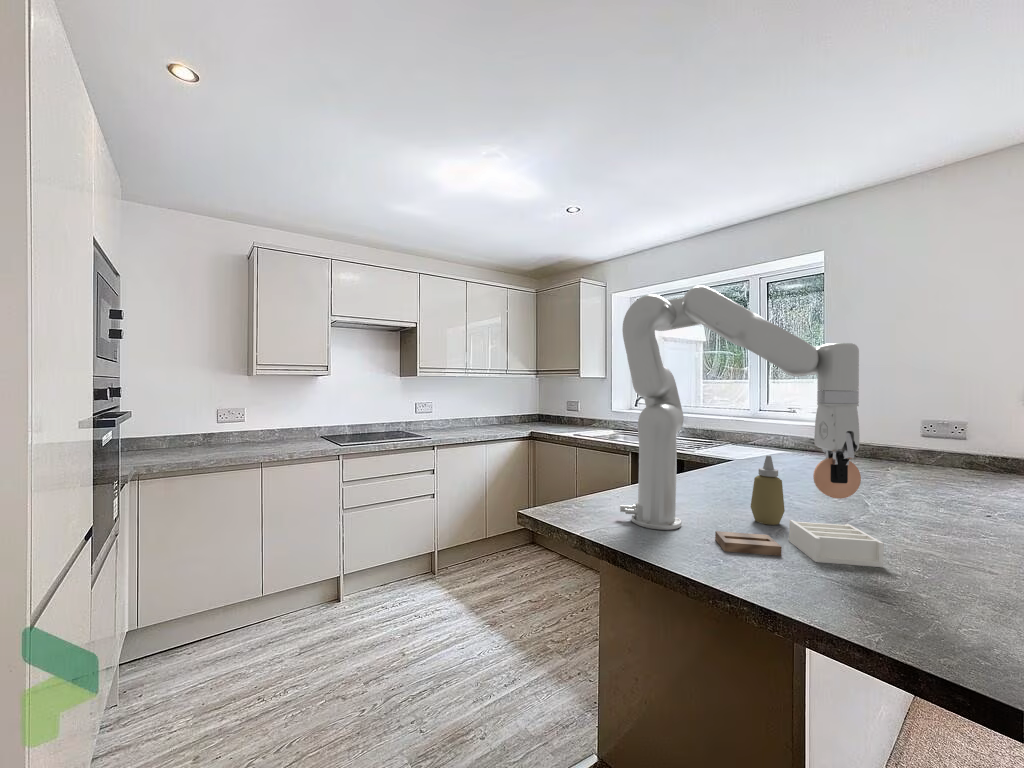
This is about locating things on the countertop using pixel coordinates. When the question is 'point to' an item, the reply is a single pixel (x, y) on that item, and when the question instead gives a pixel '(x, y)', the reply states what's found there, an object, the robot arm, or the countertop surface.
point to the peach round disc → (836, 489)
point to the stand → (747, 543)
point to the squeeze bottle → (767, 495)
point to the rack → (836, 544)
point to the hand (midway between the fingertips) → (837, 481)
